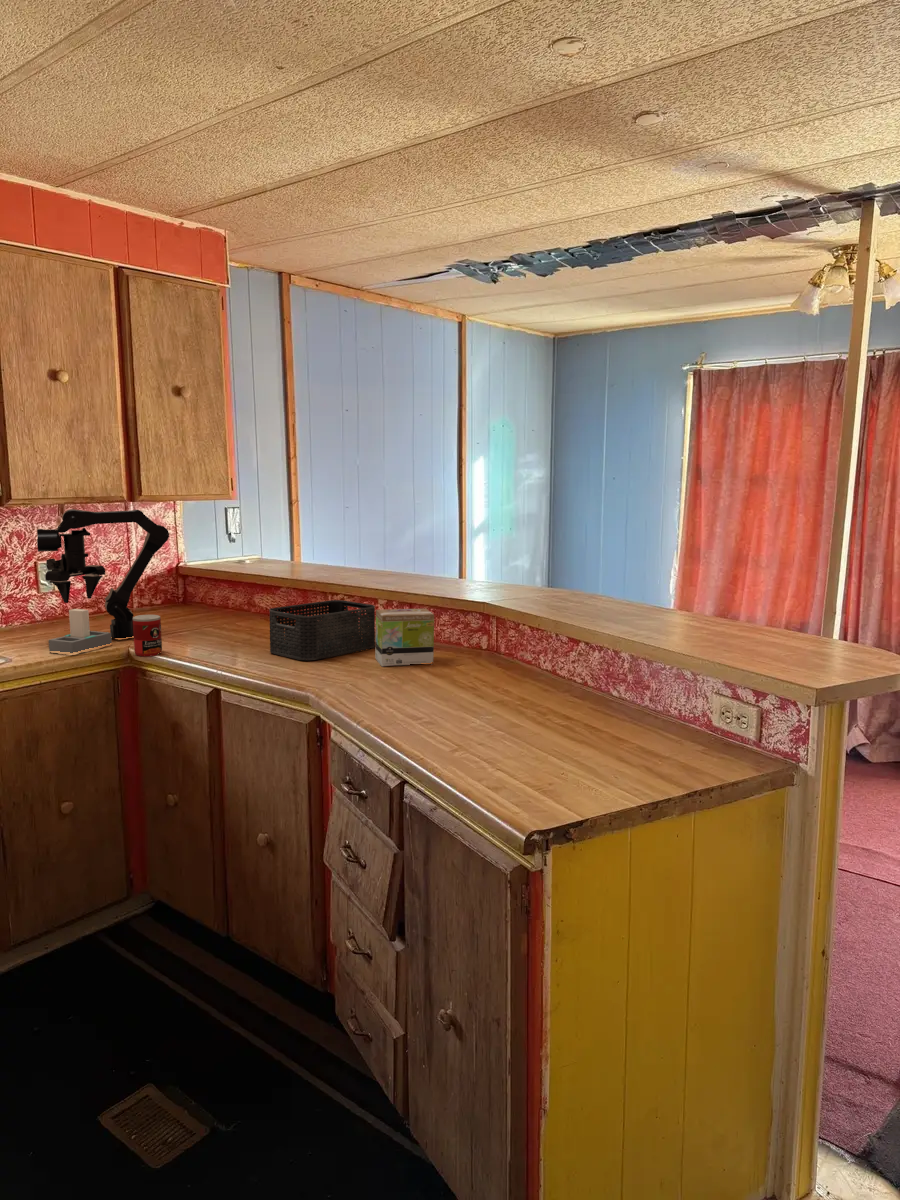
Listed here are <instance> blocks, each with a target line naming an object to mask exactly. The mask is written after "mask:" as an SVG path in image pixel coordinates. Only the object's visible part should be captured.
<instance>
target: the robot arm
mask: <svg viewBox="0 0 900 1200" xmlns="http://www.w3.org/2000/svg"><path fill="white" fill-rule="evenodd" d="M61 516H62V517H61V518H62V519H61V520H62V521H60V523H59V524H58V525H57V528H54V529H53V528H52V529H51V528H50V529H44V528H37V529H36V532H37V533H36V535H37V536H36V537H37V539H36V546H37V547H36V548H37V552H38V553H39V552H41V553H42V552H43V553H44V552H59V549H60V548H61V549H62V547H63V549H64V553H61V554H60V559H57V560H56V559H55V558H48V559H47V560H46V561H45V562H46V564H45V565H46V569H47V572H45V574H44V578H45V581H48V582H49V583H50V584H53V585H54V586H55V587H56V588H57V590H58V592H59V594H60V596H61V599H62V600H63V603H65V604H68V603H69V599H70V592H71V584H72V580H70V578H73V577H78V576H79V577H80V576H81V578H82V579H83V580H84V583H85V589H86V590H85V591H86V597H87V600H89V599H90V600H91V599H92V597H93V594H94V593H95V591H96V588H97V586H98V584H99V582H100V580H101V579H102V578H103V576H104V575H106V568H105V567H104V566H103V565H98V564H91V565H86V564H87V563H86V561H87V560H86V558H87V557H89V553H88V552H87V553H86V548H85V547H86V546H85V537H86V536H89V537H90V536H91V533H90V531H89V530H87V529H86V527H89V526H93V525H94V526H95V525H99V524H100V525H101V524H123V523H124V524H125V523H136V524H137V526H139V527H140V528H142V529H143V530H144V531H145V532H146V535H145V538H144V541H143V545H142V547H141V550H140V551H139V553H138V555H137V556H136V558H135V559H134V561H133V563H132V565H131V567H130V568H129V569H128V571H127V573H126V575H125V576H124V578H123V580H122V581H121V583H120V584H119V586H118V587H116V589H114V588H112V587H111V588H110V590H109V592H108V594H107V595H106V596H105V597H104V601H105V602H104V607H105V611H106V612H107V613H108V615H110V616H112V617H113V619H111V620H110V622H111V623H110V624H109V631H110V632H109V633H111V637H112V638H126V637H132V636H134V635H133V617H135V616H134V615H135V614H134V613H133V612H132V610H131V609H130V608H128V605H129V601H130V598H131V595H132V592H133V591H134V589H135V587H136V585H137V584H138V582H139V580H140V578H141V577H142V575H143V573H144V572H145V570H146V569H147V567H148V565H149V563H150V562H151V560H152V559H153V557H154V555H155V554H156V553H157V552H158V551H159V550H160V549H162V547H163V546H164V545H165V544H166V543H167V542H168V540H169V538H170V533H169V530H168V528H166V527H165V526H163V525H161V524H156V523H155V522H154V521H153V520H152V519H150V518H149V517H148V516H147V515H146V514H144V512H143V511H142V510H140V509H132V510H111V511H109V510H108V511H107V510H106V511H89V510H85V509H83V510H82V509H76V508H69V509H67V510H65V511H64V512H63V514H62V515H61ZM80 528H82V529H80ZM72 529H73V530H72ZM70 530H71V531H70ZM68 531H70V532H71V533H67V532H68ZM62 537H63V545H62Z"/></svg>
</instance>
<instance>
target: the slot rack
mask: <svg viewBox="0 0 900 1200" xmlns="http://www.w3.org/2000/svg"><path fill="white" fill-rule="evenodd" d="M110 643H113V642H112V638H111V633H110V632H108V631H106V632H105V631H97V630H90V636H89V637H85V638H77V637H71V634H70V633H69V634H65V635H64V636H60V637H55V638H51V639H48V651H60V652H70V653H73V652H78V651H81V650H85V649H89V648H94V647H98V646H102V645H106V644H110Z"/></svg>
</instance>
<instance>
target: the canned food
mask: <svg viewBox="0 0 900 1200" xmlns="http://www.w3.org/2000/svg"><path fill="white" fill-rule="evenodd" d="M133 635H134V639H133V647H134V648H133V649H134V654H135V655H136V656H137V657H155V656H158V655H157V654H158V653H160V652H161V653H162V651H163V643H162V622H161V615H158V614H140V615H136V616H133Z"/></svg>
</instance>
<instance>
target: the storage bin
mask: <svg viewBox="0 0 900 1200" xmlns="http://www.w3.org/2000/svg"><path fill="white" fill-rule="evenodd" d="M348 607H351V608H356V609H350V610H349V609H348ZM375 607H376V606H375V605H373V604H369V603H363V602H354V601H348V600H343V599H341V600H340V599H331V600H324V601H322V600H321V601H317V602H308V603H301V604H300V603H299V604H294V605H286V606H280V607H279V606H278V607H273V608H269V611H268V612H269V653H271V654H272V655H276V656H280V657H285V658H288V659H289V658H290V659H292V660H297V661H315V660H316V661H319V660H323V659H329V658H333V657H339V656H343V655H349V654H352V653H353V652H354V653H357V652H356V651H359V652H362V651H361V650H364V651H367V650H366V649H369V650H371V649H374V648H375V643H376V609H375ZM370 648H371V649H370ZM348 653H349V654H348ZM354 653H353V654H354Z"/></svg>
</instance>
